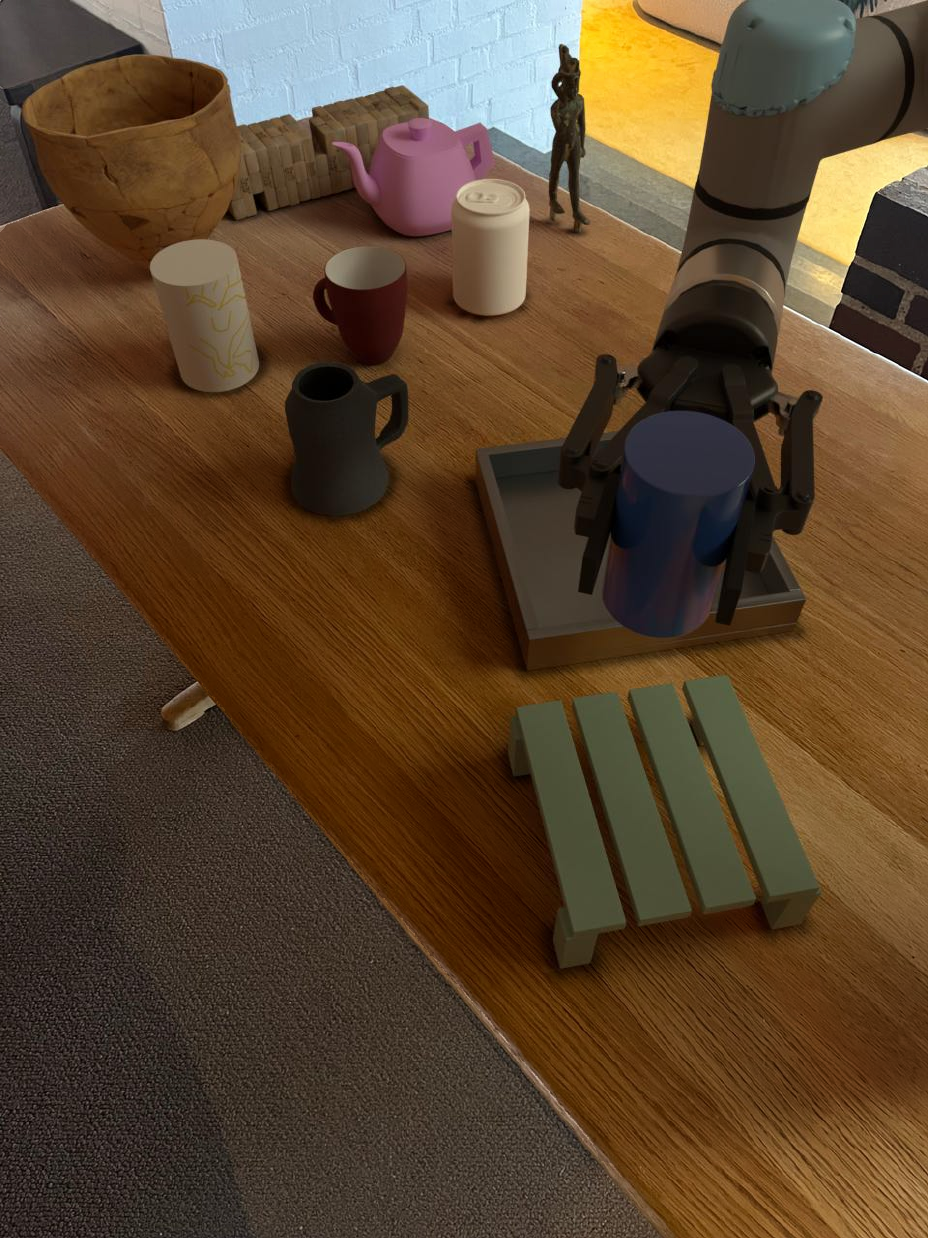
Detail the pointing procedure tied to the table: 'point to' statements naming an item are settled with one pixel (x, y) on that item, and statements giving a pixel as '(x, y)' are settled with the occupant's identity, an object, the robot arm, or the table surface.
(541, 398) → the table surface
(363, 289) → the mug
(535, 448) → the tray
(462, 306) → the beverage can
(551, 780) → the rack
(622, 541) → the navy blue cylinder
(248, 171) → the block tower
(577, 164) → the statue
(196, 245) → the cream marbled cylinder
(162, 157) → the bowl
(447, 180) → the teapot
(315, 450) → the mug
